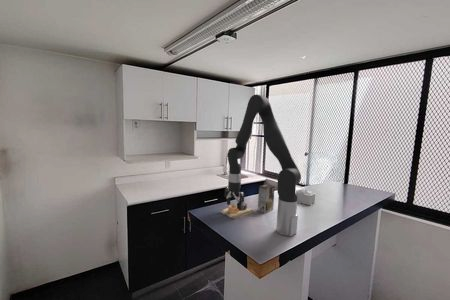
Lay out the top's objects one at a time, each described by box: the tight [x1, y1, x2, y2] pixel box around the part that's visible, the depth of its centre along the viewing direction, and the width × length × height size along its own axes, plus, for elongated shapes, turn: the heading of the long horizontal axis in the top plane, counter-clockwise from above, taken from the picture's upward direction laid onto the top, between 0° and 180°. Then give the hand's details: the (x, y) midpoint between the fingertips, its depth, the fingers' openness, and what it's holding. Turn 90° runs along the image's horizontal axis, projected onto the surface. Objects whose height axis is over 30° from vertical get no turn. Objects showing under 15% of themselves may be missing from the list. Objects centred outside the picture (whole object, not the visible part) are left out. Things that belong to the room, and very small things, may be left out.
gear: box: [227, 204, 239, 214], centre depth 130 cm, size 6×6×3 cm
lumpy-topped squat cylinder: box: [295, 188, 316, 206], centre depth 157 cm, size 10×13×9 cm
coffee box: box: [257, 183, 275, 214], centre depth 137 cm, size 9×6×16 cm
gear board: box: [220, 202, 255, 220], centre depth 132 cm, size 12×17×7 cm
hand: (233, 206), depth 130 cm, fingers open, 8 cm apart
